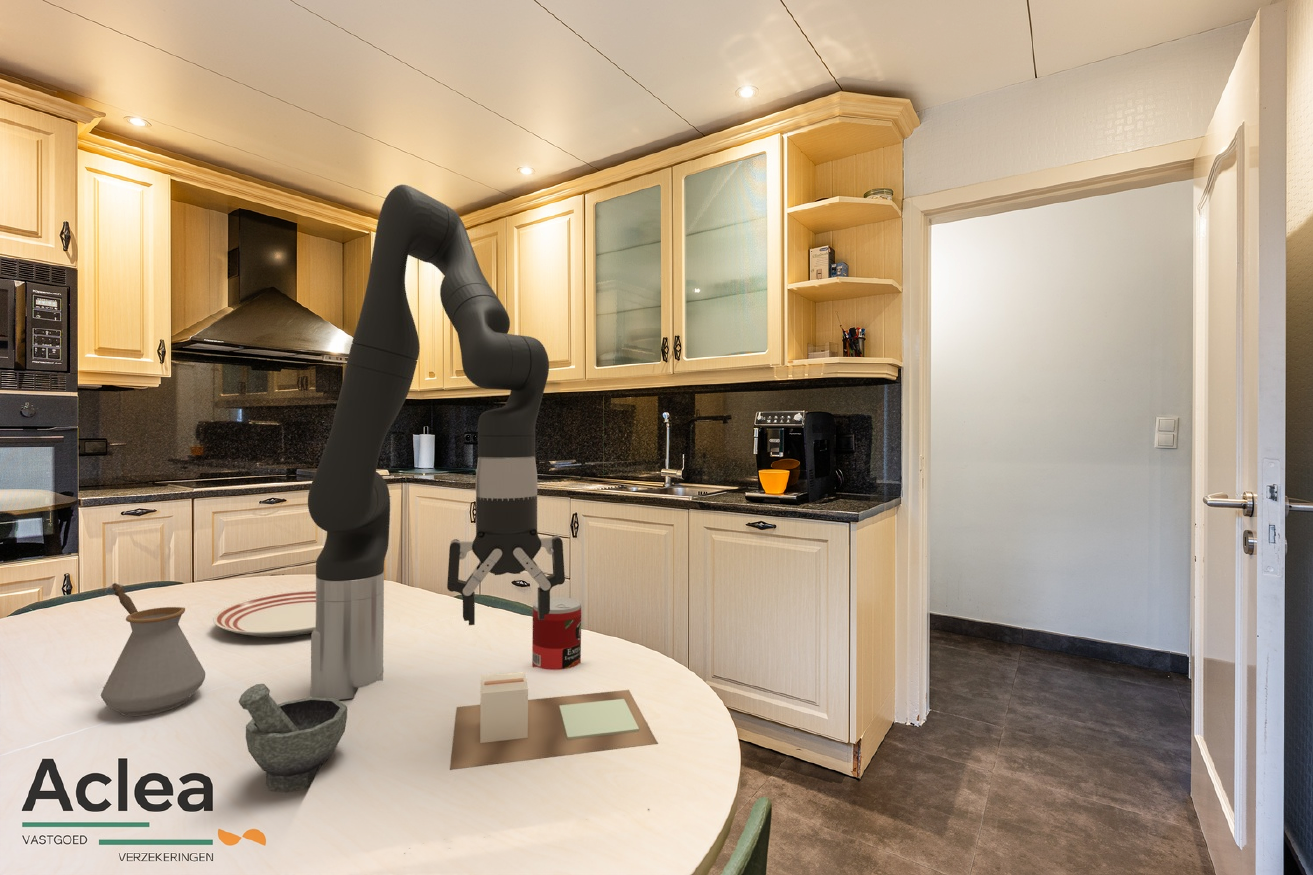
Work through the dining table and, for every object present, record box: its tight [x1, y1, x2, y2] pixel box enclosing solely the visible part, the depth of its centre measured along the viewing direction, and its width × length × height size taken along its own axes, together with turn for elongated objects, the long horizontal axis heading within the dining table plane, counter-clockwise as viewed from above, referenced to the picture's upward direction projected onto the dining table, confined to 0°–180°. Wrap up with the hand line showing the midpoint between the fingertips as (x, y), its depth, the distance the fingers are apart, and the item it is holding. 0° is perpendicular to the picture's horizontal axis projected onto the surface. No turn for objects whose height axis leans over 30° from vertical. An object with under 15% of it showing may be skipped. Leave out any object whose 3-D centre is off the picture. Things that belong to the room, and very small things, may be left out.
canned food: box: [531, 596, 582, 671], centre depth 102 cm, size 8×8×11 cm
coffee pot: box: [100, 582, 206, 717], centre depth 90 cm, size 21×12×15 cm, turn 58°
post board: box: [449, 689, 659, 771], centre depth 80 cm, size 24×16×6 cm, turn 105°
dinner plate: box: [212, 589, 316, 638], centre depth 125 cm, size 28×27×3 cm
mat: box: [559, 699, 639, 740], centre depth 81 cm, size 9×9×1 cm
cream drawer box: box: [480, 671, 529, 743], centre depth 78 cm, size 6×6×6 cm
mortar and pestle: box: [238, 683, 348, 793], centre depth 69 cm, size 11×9×12 cm
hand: (507, 620), depth 78 cm, fingers open, 8 cm apart
